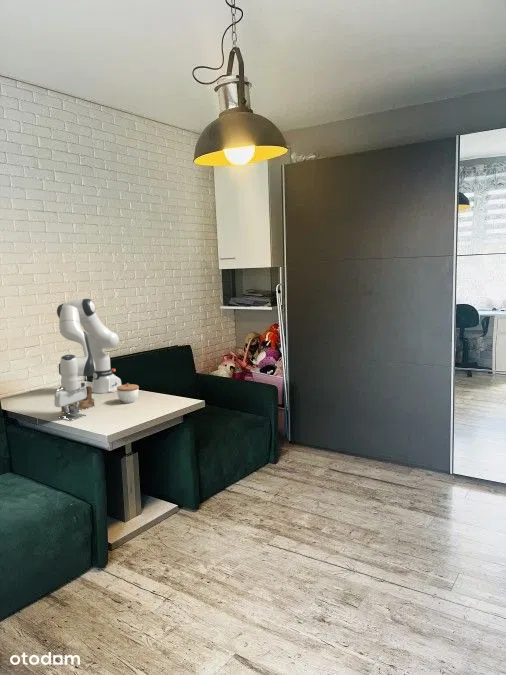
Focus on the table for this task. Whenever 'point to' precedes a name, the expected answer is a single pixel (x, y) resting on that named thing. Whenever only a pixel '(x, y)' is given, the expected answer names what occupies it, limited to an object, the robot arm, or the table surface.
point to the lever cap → (72, 409)
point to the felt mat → (73, 416)
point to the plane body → (84, 401)
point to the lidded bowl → (128, 393)
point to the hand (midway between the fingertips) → (71, 411)
